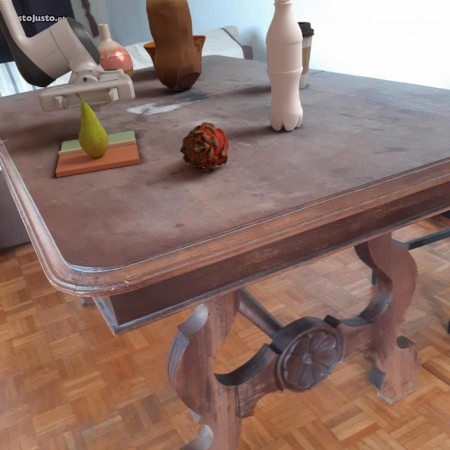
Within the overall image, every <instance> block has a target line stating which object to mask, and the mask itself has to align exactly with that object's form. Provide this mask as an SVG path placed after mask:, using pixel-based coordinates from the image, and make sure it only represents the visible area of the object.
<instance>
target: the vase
mask: <svg viewBox="0 0 450 450" xmlns="http://www.w3.org/2000/svg"><path fill="white" fill-rule="evenodd" d="M97 29H98V34H99V39H100V40H99V42H98V43H97V44H96V45H97V47H98V50H99V52H100V63H99V64H100V65H101V67H102V68H103V69H123V72H124V74H127V75H128V76H129V77H130V78H131V79H132V76H133V73H134V63H133V59H132V57H131V55H130V53H129V51H128V50H127V49H126V48H125V47H124V46H123V45H121V44H120V43H119V42H117V41H115V40H113V39H112V36H111V33H110V28H109V24H108V23H99V24H97Z"/></svg>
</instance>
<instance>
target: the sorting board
mask: <svg viewBox="0 0 450 450" xmlns="http://www.w3.org/2000/svg"><path fill="white" fill-rule="evenodd" d="M107 135H108V139H109V145H108V148H107V151H106V153H105V154H104V155H103V156H101V157H98V158H94V157H92V156H90V155H88V154H87V153H86V152H85V151H84V150H83V149H82V148H81V146H80V143H79V138H78V139H70V140H65V141H62V143H61V144H62V145H61V148H60V150H59V151H58V152H57V154H58V156H59V157H58V160H57V165H56V169H55V176H56V178H61V177H68V176H73V175H79V174H86V173H91V172H96V171H103V170H108V169H114V168H121V167H126V166H131V165H138V164H139V165H140V156H139V151H138V150H139V149H138V146H137V141H136V134H135V130H134V129H133V130H128V131H127V130H126V131H120V132H114V133H107Z"/></svg>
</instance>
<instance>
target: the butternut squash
mask: <svg viewBox="0 0 450 450" xmlns="http://www.w3.org/2000/svg"><path fill="white" fill-rule="evenodd" d="M145 12H146V16H147V21H148V28H149V33H150V36H151V37H152V40H153V41H154V43H155V47H156V52H155V60H154V66H155V68H154V70H155V74H156V77H157V79H158V81H159V82H160V84H162V86H165V87H166V88H168V89H170V90H172V91H175V92H176V91H179V92H185V91H189V90H190V89H192V88H193V86H194V85H195V84H196V83H197V81H198V80H199V78H200V76H201V74H202V69H203V68H202V66H203V65H202V64H203V63H202V61H201V60H200V56H199V54H198V52H197V50H196V48H195V45H194V42H193V36H194V34H193V33H194V32H193V19H192V14H191V9H190V6H189V2H188V0H145ZM154 66H153V67H154Z"/></svg>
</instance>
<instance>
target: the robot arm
mask: <svg viewBox="0 0 450 450" xmlns="http://www.w3.org/2000/svg"><path fill="white" fill-rule="evenodd" d="M21 23H22V22H21V21H20V19H19V17H18V14H17V12H16V8H15V7H14V4H13V1H12V0H0V28H1V31H2V33H3V36H4V37H5V39H6V41H7V45H8V47H9V49H10V52H11V55H12V58H13V60H14V64H15V67H16V69H17V71H18V73H19V75H20V76H21V77H22V79H23V80H24V81H25V82H26V83H27V84H28V85H31V86H34V87H37V88H43V89H42V90H41V91H40V92H39V93H38V95H37V99H38V102H39V104H40V108H41V110H42V111H43V112H46V113H49V112H54V111H55V112H56V111H64V110H69V109H75V108H80V109H81V100H80V98H79V97H78V96H77V95H76V93H78V94H79V95H80V96H81V98H82V100H83V102H85V103H86V104H88V105H89V107H90V108H91V109H92V110H93V111H95V110H98V109H100V108H102V107H106V106H107V105H109V104H112V103H116V102H121V101H128V100H133V99H135V98H136V94H135V89H134V83H133V81H132V77H131V78H130V77H129V76H128V75H127V74H124V72H123V69H103V68H102V67H101V65H100V64H99V63H100V52H99V50H98V47H97V45H98V44H97V43H96V41H95V39H94V37H93V36H92V34H91V33H90V31H89V30H88V29H87V27H86V26H85V25H84V24H83V23H82V22H80V21H79V20H77V19H74V18H72V17H69V16H67V17H64V18H63V19H60V20H59V21H57V22H55V23H54V24H51V25H50V26H49V27H47V28H45V29H44V30H42V31H40V32H38V33H36V34H35V35H34V36H31V37H28V36H26V33H25V30H24V28H23V25H22V24H21ZM69 73H70V76H69V79H68V82H67V84H64V85H59V86H52V87H49V86H50V85H51V84H53V83H54V82H56V81H57V79H59V78H61V77H63V76H65V75H67V74H69ZM47 87H48V88H47Z"/></svg>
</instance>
